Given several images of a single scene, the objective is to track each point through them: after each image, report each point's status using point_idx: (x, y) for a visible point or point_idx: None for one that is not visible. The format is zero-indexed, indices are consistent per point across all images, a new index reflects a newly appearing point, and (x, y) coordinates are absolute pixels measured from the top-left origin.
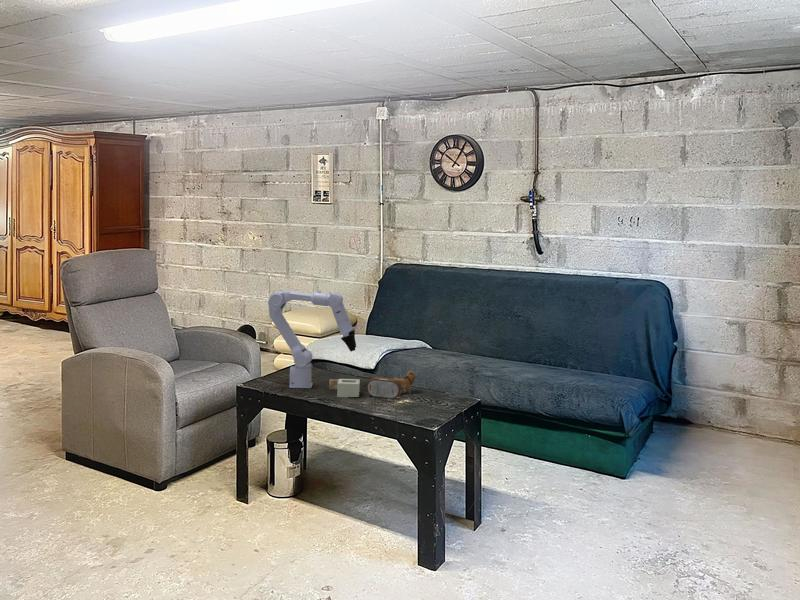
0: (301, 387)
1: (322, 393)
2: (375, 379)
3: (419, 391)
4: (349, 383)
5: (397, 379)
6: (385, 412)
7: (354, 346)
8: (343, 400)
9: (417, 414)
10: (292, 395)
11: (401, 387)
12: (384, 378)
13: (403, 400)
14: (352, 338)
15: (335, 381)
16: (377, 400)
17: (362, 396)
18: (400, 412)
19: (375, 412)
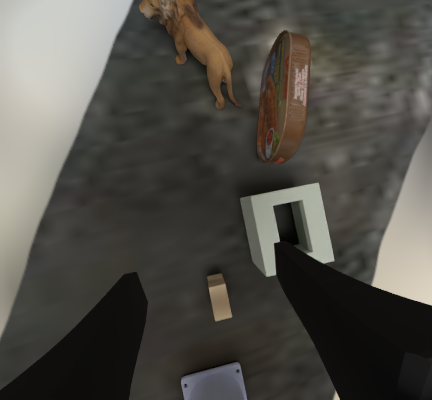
0: (245, 392)
1: (280, 305)
2: (306, 117)
3: None
4: (323, 217)
5: (225, 48)
6: (404, 86)
7: (305, 253)
8: (332, 222)
9: (396, 3)
10: (327, 382)
11: (279, 36)
12: (291, 82)
13: None
14: (417, 309)
15: (226, 293)
16: None
17: (276, 179)
18: (393, 48)
19: (411, 111)
